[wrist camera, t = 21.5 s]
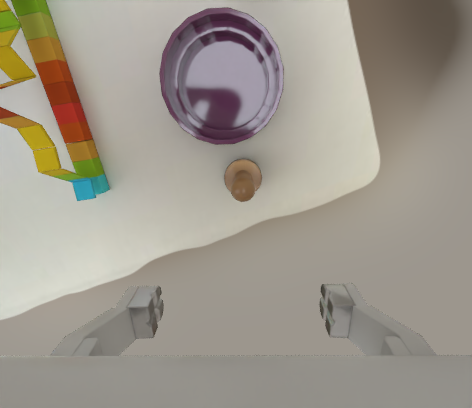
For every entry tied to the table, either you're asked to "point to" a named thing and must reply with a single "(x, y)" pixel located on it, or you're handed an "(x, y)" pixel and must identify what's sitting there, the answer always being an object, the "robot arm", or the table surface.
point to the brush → (243, 179)
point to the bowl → (221, 76)
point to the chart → (59, 94)
